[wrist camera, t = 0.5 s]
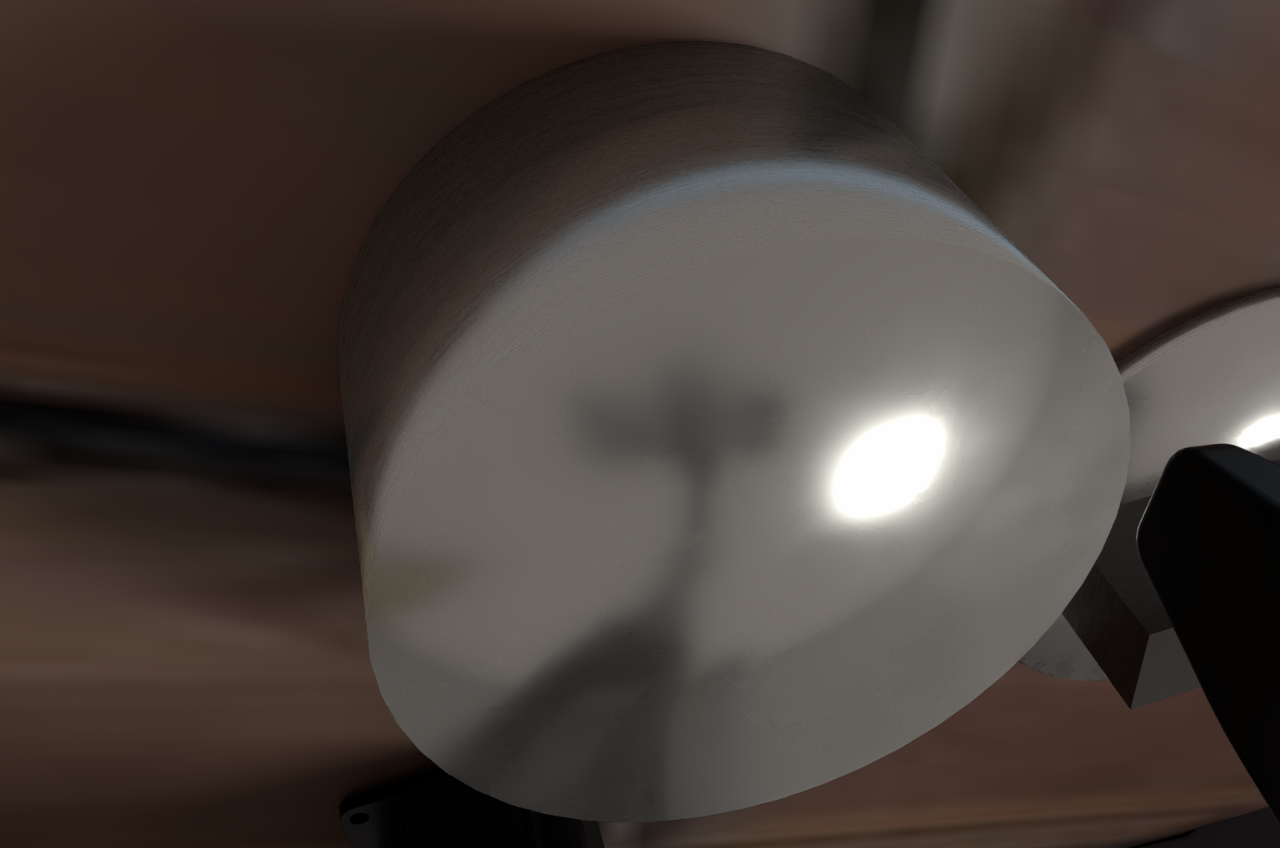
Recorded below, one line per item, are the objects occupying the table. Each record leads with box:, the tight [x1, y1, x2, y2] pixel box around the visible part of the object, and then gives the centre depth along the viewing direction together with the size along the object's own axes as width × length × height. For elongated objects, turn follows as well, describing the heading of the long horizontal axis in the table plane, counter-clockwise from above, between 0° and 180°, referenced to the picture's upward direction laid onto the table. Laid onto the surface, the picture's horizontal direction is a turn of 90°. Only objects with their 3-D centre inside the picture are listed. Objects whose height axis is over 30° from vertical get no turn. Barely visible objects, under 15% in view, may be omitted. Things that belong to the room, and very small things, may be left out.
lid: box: [1019, 287, 1280, 709], centre depth 31 cm, size 14×14×5 cm
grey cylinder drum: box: [337, 42, 1131, 822], centre depth 22 cm, size 13×13×7 cm
